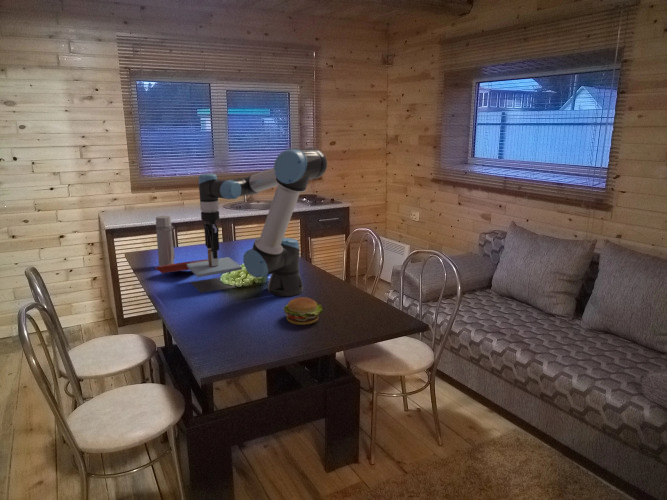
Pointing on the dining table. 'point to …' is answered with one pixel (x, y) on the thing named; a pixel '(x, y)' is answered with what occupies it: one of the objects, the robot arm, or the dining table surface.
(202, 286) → the mat
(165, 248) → the water bottle
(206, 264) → the lid
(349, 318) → the dining table surface
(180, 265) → the plant saucer
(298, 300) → the food
